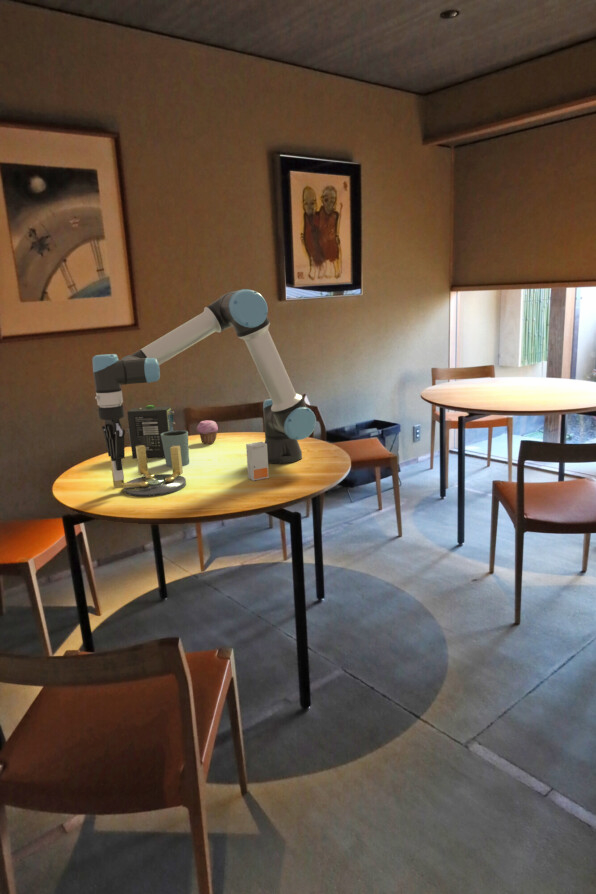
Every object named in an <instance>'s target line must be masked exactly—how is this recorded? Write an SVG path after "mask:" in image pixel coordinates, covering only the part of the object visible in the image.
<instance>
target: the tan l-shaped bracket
mask: <svg viewBox="0 0 596 894" xmlns="http://www.w3.org/2000/svg"><path fill="white" fill-rule="evenodd" d="M170 451H171V460H172V467H171V469H172V470H171V471H172V473H170V474H171V475H170V476H169V477H166V478H165V480H166V482H173V481H174V479H175V478H176V477H177V476H178V475H179V476H182V475H183V466H182V460H181V449H180V446H172V447H171V448H170Z"/></svg>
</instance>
